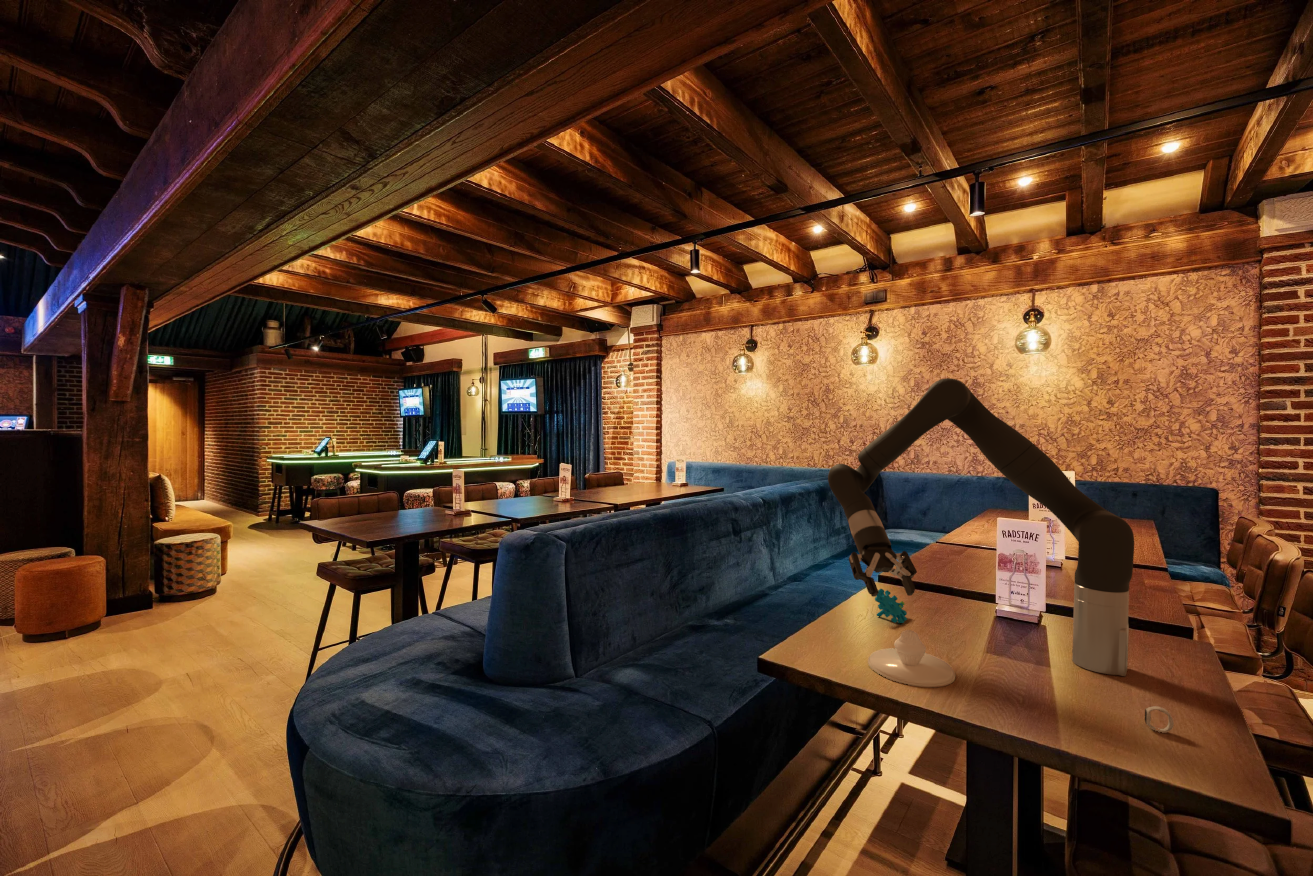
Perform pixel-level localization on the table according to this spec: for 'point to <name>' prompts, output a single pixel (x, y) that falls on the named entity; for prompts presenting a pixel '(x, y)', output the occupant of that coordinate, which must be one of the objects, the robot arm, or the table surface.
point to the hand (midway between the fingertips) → (893, 594)
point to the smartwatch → (1148, 710)
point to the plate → (912, 669)
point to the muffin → (910, 648)
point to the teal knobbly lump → (890, 606)
